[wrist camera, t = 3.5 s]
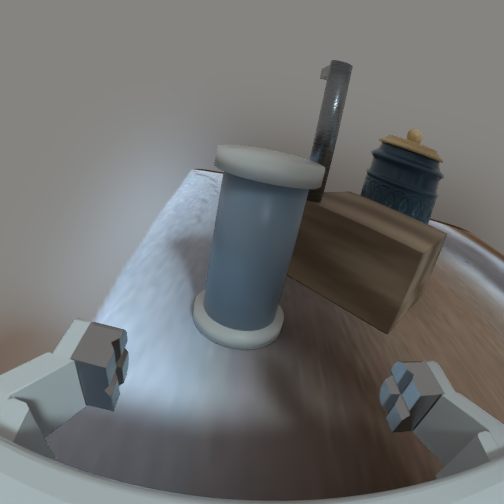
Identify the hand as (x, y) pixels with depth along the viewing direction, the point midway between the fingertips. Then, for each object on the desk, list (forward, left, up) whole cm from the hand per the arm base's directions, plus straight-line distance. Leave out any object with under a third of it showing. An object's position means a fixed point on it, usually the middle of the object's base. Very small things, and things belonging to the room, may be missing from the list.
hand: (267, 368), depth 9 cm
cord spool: (-8, -8, -7) cm, 13 cm away
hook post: (-19, -12, 0) cm, 22 cm away
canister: (-47, -12, -7) cm, 49 cm away
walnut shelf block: (-22, -6, -7) cm, 24 cm away
